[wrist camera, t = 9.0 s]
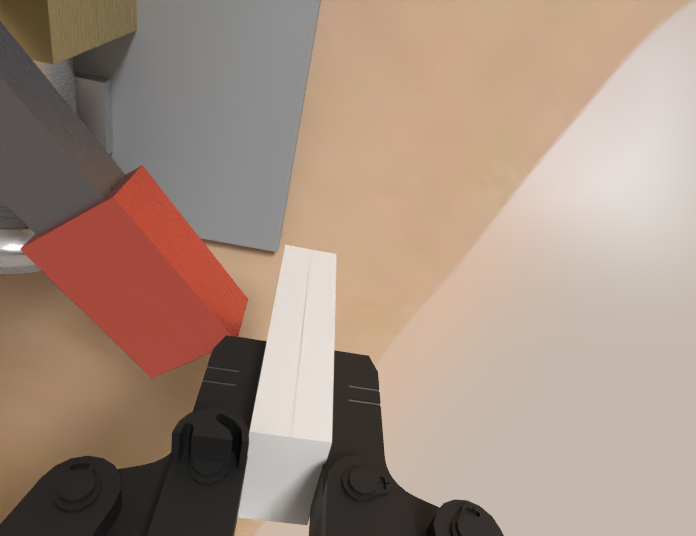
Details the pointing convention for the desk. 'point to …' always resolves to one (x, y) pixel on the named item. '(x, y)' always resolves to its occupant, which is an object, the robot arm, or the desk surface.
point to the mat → (212, 107)
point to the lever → (107, 229)
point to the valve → (63, 79)
